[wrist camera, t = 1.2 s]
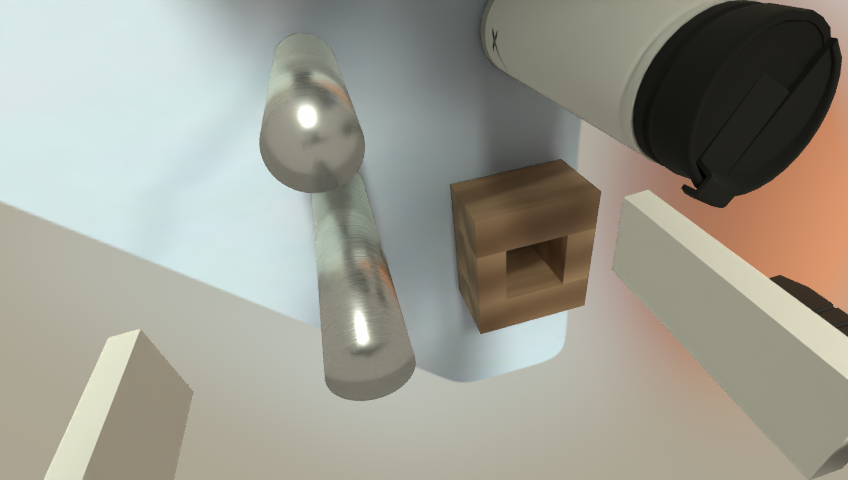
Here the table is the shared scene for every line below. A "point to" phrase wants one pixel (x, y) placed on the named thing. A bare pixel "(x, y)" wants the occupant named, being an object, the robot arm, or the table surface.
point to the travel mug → (678, 79)
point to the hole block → (524, 242)
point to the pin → (309, 119)
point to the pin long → (357, 299)
